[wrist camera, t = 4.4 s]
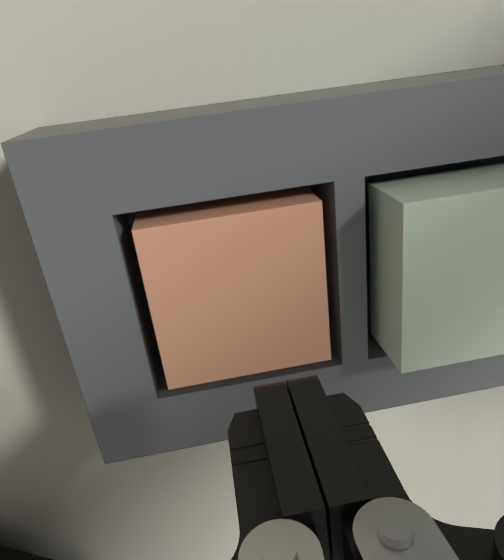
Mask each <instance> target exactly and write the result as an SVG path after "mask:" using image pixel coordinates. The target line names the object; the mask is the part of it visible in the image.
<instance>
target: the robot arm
mask: <svg viewBox="0 0 504 560" xmlns="http://www.w3.org/2000/svg"><path fill="white" fill-rule="evenodd" d="M253 390H254V397H255V403H256V409H254V410H249V411H243V412H238V413H235V414H234V416H233V418H232V421H231V423H230V426H229V428H228V439H229V447H230V455H231V463H232V471H233V479H234V487H235V495H236V503H237V511H238V520H239V528H240V537H239V543H238V546H237V549H236V552H235V554H234V556H233V557H232V559H231V560H504V516H502V517H501V518H500V519H499V521H498V522H497V524H496V527H495V530H492V529H481V528H471V527H461V526H455V525H450V524H446V523H443V522H440V521H438V520H435V519H434V518H432V517H431V516H430V515H429V514H428V513H427V512H426V511H425V510H424V509H422V508H421V507H420V506H418V505H416V504H414V503H413V502H412V501H411V500H410V499H409V497H408V495H407V494H406V492H405V490H404V488H403V486H402V484H401V482H400V480H399V479H398V477H397V475H396V473H395V471H394V469H393V467H392V465H391V463H390V461H389V460H388V458H387V456H386V454H385V452H384V450H383V448H382V446H381V444H380V442H379V441H378V440H377V438H376V435H375V433H374V431H373V429H372V427H371V426H370V425H369V422H368V420H367V418H366V416H365V414H364V412H363V410H362V408H361V406H360V405H359V404H358V403H356V402H355V401H354V400H352V399H351V398H350V397H349V396H347V395H346V394H345V393H338V394H333V395H328V396H326V394H325V392H324V389H323V387H322V385H321V383H320V380H319V378H318V376H317V375H313V376H307V377H302V378H296V379H291V380H286V385H285V383H284V381H281V382H275V383H270V384H265V385H259V386H254V387H253Z"/></svg>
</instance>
